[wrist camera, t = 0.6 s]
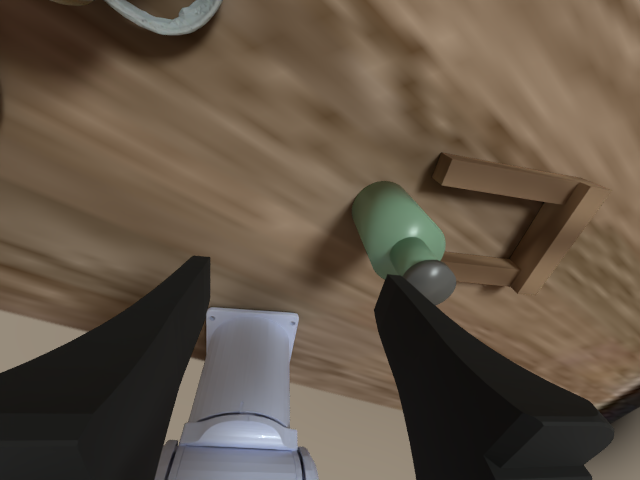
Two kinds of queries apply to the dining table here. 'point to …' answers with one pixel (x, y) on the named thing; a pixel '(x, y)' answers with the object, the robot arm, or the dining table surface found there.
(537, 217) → the cradle
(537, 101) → the dining table surface
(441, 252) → the bottle
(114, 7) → the ceramic mug
